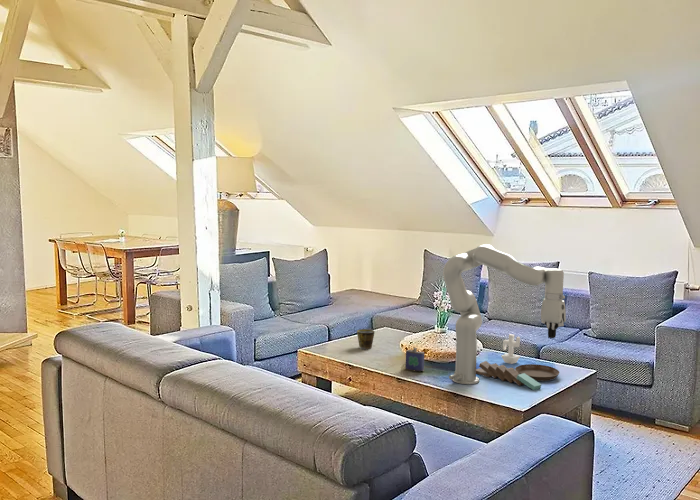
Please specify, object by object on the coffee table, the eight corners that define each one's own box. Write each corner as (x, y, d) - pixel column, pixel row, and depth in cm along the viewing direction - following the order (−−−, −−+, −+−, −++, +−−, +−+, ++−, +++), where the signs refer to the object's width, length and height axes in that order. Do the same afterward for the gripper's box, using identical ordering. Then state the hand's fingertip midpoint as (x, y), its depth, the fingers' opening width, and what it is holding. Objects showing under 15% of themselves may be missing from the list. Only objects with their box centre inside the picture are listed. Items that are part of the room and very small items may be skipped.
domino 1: (496, 372, 307) (480, 368, 315) (489, 374, 304) (473, 369, 312) (496, 376, 307) (479, 372, 315) (489, 378, 304) (473, 373, 312)
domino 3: (511, 376, 301) (495, 363, 307) (504, 377, 298) (489, 364, 304) (509, 379, 302) (494, 366, 308) (503, 381, 298) (487, 368, 305)
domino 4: (518, 377, 297) (503, 364, 304) (512, 379, 294) (497, 366, 301) (517, 381, 298) (501, 368, 305) (510, 383, 295) (495, 369, 302)
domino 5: (527, 380, 294) (512, 367, 300) (521, 382, 290) (505, 369, 297) (526, 384, 294) (510, 370, 301) (519, 385, 291) (503, 372, 298)
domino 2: (502, 373, 305) (486, 360, 311) (496, 375, 301) (480, 363, 307) (500, 376, 306) (484, 364, 311) (494, 378, 302) (478, 366, 308)
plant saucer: (548, 385, 293) (548, 378, 293) (507, 376, 307) (507, 370, 306) (566, 376, 309) (566, 369, 308) (526, 368, 322) (526, 361, 322)
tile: (533, 390, 285) (516, 378, 292) (540, 388, 288) (523, 376, 295) (534, 386, 285) (517, 374, 292) (541, 384, 288) (524, 373, 295)
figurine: (506, 359, 338) (507, 331, 336) (522, 363, 331) (523, 334, 329) (498, 361, 333) (499, 333, 331) (514, 365, 326) (515, 337, 324)
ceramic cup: (361, 345, 365) (361, 328, 364) (377, 347, 361) (377, 330, 360) (351, 350, 354) (351, 332, 353) (367, 352, 349) (367, 334, 348)
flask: (424, 371, 314) (425, 348, 313) (422, 372, 311) (422, 349, 310) (406, 368, 319) (407, 345, 318) (404, 369, 316) (404, 347, 315)
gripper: (573, 298, 274) (571, 339, 276) (543, 293, 286) (542, 333, 288) (563, 300, 270) (561, 342, 272) (534, 295, 281) (532, 335, 283)
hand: (551, 337), depth 280 cm, fingers closed
